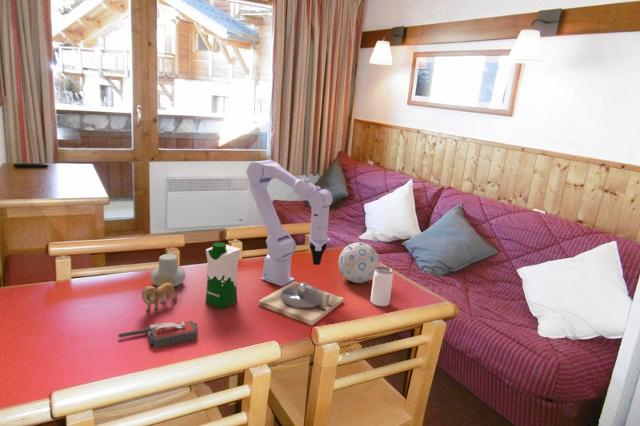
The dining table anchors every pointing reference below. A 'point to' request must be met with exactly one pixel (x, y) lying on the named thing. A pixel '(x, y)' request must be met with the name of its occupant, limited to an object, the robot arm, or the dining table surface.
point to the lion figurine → (157, 295)
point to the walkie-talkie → (168, 333)
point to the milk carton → (222, 275)
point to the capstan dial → (304, 297)
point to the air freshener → (168, 271)
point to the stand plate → (302, 315)
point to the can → (381, 286)
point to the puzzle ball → (358, 262)
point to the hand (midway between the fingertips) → (316, 264)
